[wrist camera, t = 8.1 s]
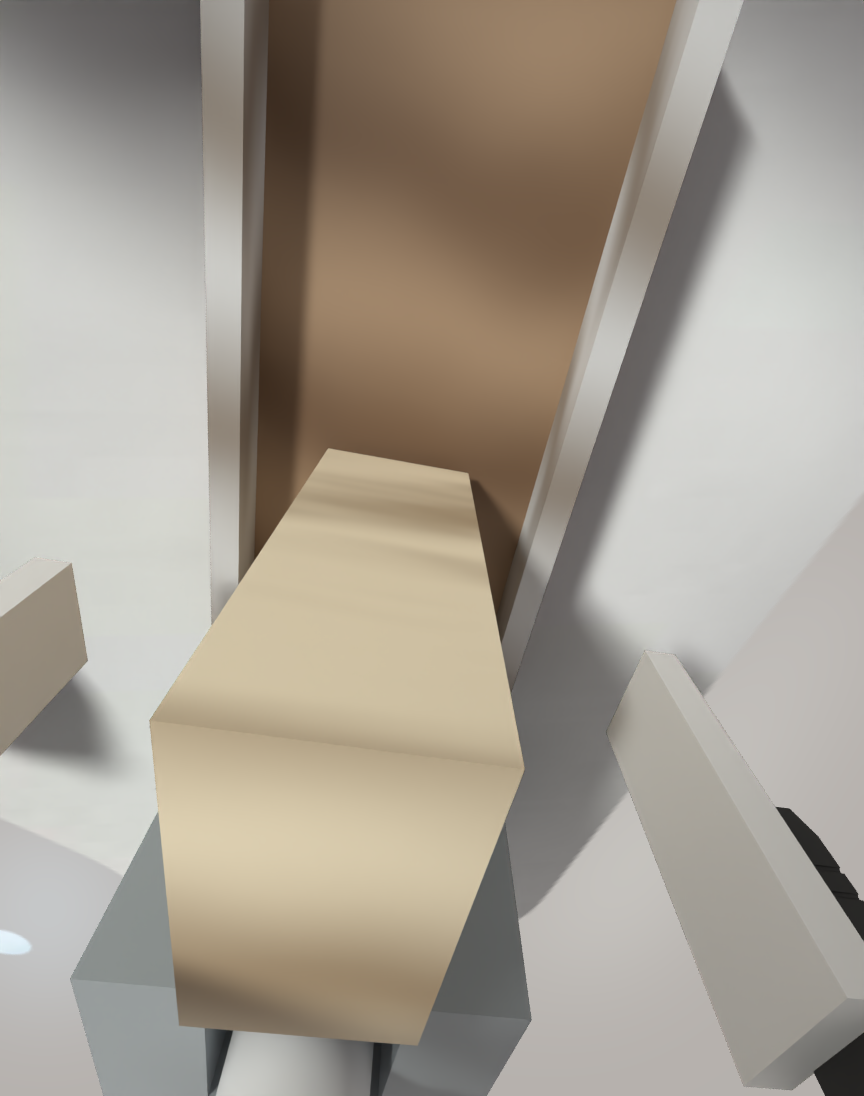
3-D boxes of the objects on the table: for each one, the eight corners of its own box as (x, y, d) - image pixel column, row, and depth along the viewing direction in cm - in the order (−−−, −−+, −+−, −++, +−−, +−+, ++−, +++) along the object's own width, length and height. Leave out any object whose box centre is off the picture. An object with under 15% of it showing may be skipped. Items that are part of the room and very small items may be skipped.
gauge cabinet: (227, 680, 21) (69, 979, 12) (504, 718, 22) (554, 1022, 13) (227, 807, 24) (107, 1109, 15) (465, 835, 25) (482, 1135, 16)
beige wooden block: (328, 448, 14) (150, 720, 5) (468, 473, 14) (525, 769, 6) (309, 645, 17) (178, 1025, 8) (425, 662, 18) (417, 1045, 9)
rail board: (250, -103, 11) (189, -233, 8) (694, 13, 12) (772, -69, 9) (240, 643, 20) (209, 698, 17) (490, 679, 21) (498, 737, 18)
